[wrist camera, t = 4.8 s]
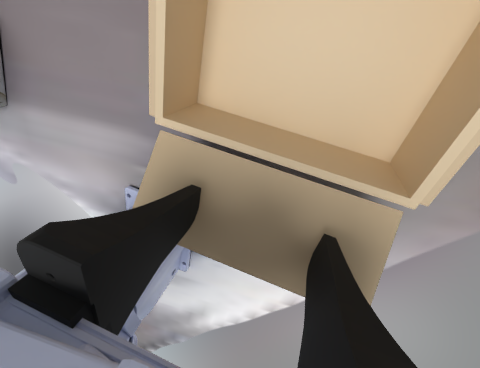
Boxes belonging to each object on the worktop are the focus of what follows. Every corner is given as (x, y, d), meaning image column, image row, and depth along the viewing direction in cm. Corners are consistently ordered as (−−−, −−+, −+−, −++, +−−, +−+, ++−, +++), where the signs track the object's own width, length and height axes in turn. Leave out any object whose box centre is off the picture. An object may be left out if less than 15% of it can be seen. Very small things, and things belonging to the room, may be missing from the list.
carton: (397, 170, 16) (422, 212, 12) (188, 104, 18) (149, 121, 14) (552, -61, 10) (716, -140, 6) (207, -116, 12) (147, -200, 8)
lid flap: (403, 211, 12) (398, 211, 13) (160, 130, 14) (164, 132, 15) (364, 322, 12) (361, 316, 13) (126, 223, 14) (131, 222, 15)
